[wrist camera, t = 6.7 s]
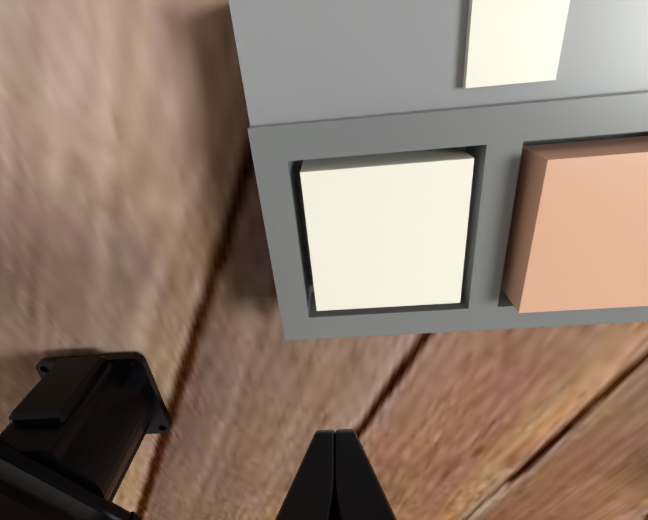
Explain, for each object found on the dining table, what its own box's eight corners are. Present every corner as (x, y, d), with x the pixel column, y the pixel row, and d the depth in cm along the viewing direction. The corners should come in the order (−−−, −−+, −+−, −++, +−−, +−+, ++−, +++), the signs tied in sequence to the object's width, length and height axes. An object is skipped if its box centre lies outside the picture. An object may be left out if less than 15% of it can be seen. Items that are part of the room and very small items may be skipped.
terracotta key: (643, 276, 16) (680, 304, 15) (499, 285, 17) (519, 313, 15) (696, 131, 13) (750, 143, 12) (520, 146, 14) (547, 159, 12)
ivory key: (447, 277, 18) (460, 302, 16) (318, 285, 18) (316, 310, 16) (457, 145, 15) (474, 158, 13) (304, 158, 15) (300, 172, 13)
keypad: (803, 265, 19) (895, 308, 16) (292, 296, 20) (284, 340, 17) (1010, -88, 12) (1233, -134, 9) (246, -2, 14) (221, -17, 11)
